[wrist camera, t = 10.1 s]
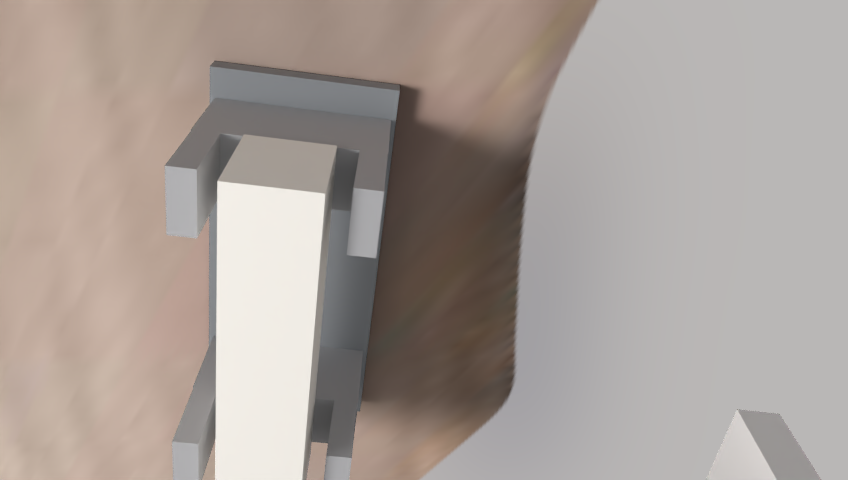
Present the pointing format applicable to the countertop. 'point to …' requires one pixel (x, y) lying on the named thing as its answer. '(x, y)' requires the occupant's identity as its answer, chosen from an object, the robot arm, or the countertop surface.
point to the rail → (270, 304)
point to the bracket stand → (348, 240)
